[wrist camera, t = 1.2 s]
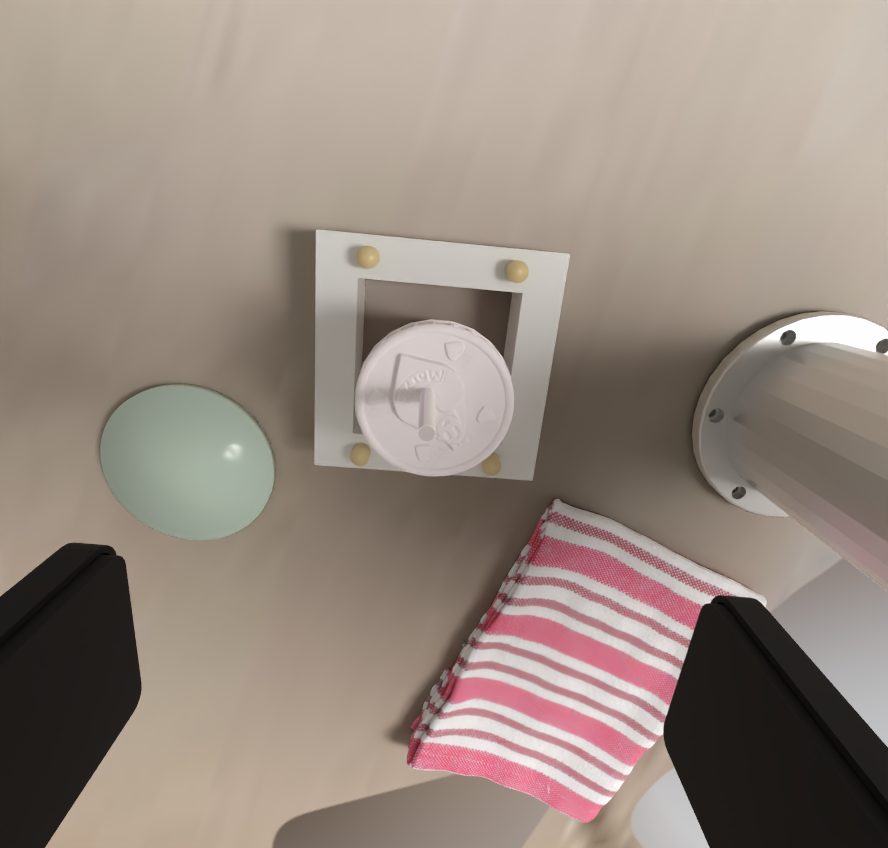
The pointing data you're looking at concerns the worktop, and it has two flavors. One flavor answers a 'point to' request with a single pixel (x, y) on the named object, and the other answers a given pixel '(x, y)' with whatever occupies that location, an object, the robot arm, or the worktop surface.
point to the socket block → (443, 264)
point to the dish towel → (569, 664)
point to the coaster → (187, 461)
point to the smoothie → (434, 398)
